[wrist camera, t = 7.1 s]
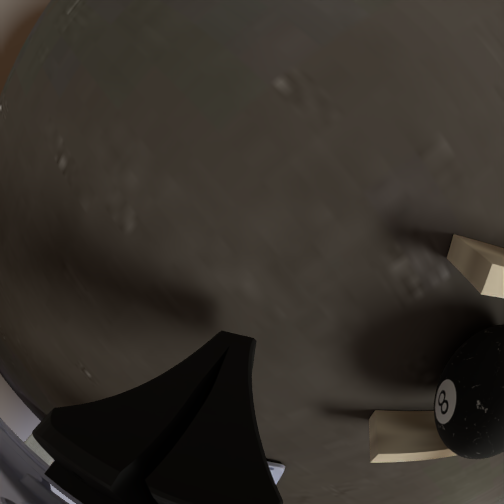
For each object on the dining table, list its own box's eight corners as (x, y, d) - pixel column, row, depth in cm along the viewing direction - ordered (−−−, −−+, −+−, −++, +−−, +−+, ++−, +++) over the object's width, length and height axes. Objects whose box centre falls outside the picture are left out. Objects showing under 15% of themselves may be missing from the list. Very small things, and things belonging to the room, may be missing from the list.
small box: (65, 440, 33) (38, 473, 23) (43, 419, 32) (15, 451, 23) (72, 438, 30) (42, 477, 20) (48, 415, 29) (15, 452, 20)
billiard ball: (488, 386, 10) (516, 460, 5) (408, 397, 11) (422, 492, 6) (529, 299, 8) (588, 370, 2) (445, 302, 9) (503, 406, 4)
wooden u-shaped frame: (368, 419, 12) (370, 462, 10) (453, 234, 8) (492, 263, 6) (483, 415, 11) (494, 446, 8) (565, 269, 7) (594, 293, 4)
